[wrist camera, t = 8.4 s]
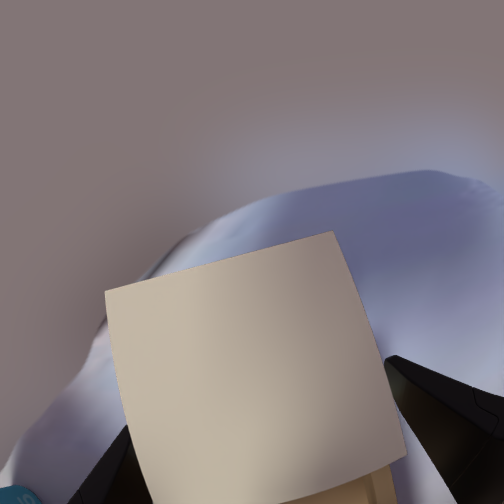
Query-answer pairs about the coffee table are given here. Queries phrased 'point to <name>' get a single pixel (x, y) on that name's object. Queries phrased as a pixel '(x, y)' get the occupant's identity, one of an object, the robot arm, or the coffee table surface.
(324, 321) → the cream block
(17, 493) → the data package
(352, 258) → the coffee table surface
